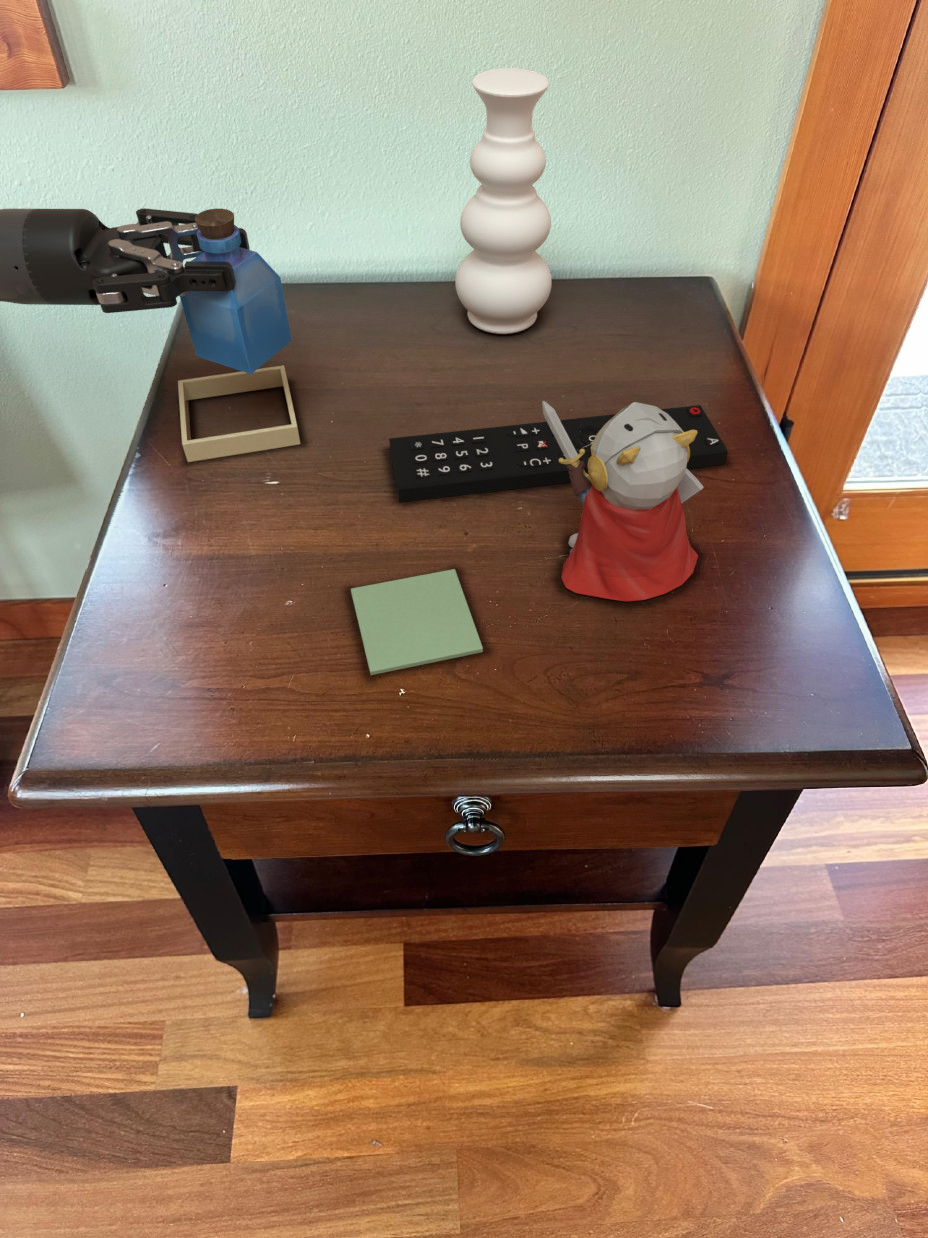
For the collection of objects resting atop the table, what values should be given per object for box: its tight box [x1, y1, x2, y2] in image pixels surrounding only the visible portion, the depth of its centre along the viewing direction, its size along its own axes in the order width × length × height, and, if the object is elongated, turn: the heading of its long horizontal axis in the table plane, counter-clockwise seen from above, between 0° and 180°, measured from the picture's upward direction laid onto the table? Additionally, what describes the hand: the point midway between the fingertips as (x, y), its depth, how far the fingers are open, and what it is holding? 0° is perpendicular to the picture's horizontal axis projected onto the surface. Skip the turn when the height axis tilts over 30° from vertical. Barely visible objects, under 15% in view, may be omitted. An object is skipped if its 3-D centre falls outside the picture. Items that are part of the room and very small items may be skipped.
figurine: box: [541, 400, 704, 603], centre depth 67 cm, size 13×12×15 cm
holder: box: [177, 365, 301, 463], centre depth 85 cm, size 11×11×2 cm
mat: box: [350, 568, 484, 676], centre depth 68 cm, size 9×9×1 cm
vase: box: [454, 67, 553, 335], centre depth 89 cm, size 11×11×25 cm
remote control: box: [388, 404, 729, 503], centre depth 81 cm, size 8×32×2 cm, turn 100°
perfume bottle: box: [179, 208, 292, 374], centre depth 73 cm, size 6×6×12 cm
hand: (239, 258), depth 71 cm, fingers closed on perfume bottle, 5 cm apart
